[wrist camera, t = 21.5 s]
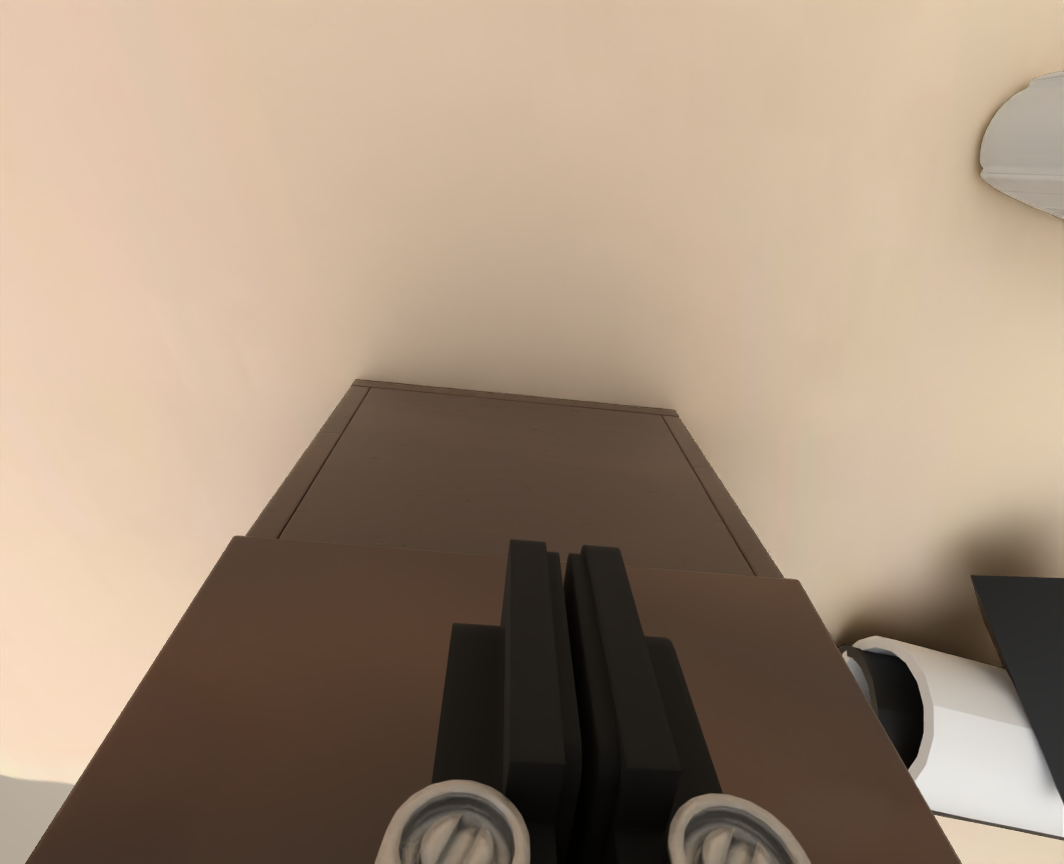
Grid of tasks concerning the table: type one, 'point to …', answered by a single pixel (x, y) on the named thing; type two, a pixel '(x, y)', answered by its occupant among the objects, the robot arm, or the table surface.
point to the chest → (512, 481)
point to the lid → (415, 707)
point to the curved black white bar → (981, 710)
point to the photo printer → (1029, 146)
